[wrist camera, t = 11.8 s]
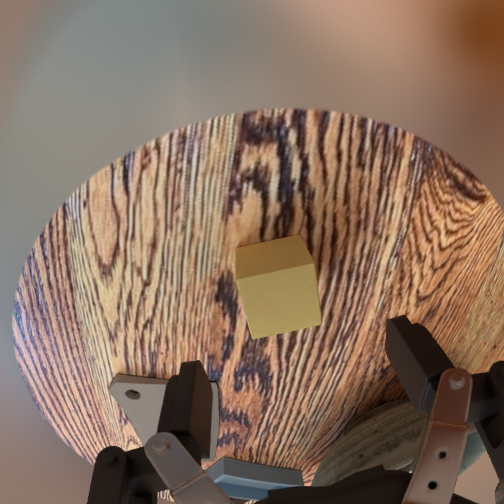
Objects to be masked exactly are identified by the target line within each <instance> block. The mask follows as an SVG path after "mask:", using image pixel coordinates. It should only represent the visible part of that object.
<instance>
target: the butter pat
mask: <svg viewBox="0 0 504 504" xmlns="http://www.w3.org/2000/svg"><path fill="white" fill-rule="evenodd" d="M236 282H237V286H238V290H239V293H240V297H241V301H242V304H243V308H244V311H245V315H246V318H247V322H248V326H249V329H250V333H251V336H252V339H257V338H262V337H267V336H272V335H277V334H281V333H286V332H290V331H295V330H299V329H304V328H308V327H312V326H317V325H321V324H322V319H321V310H320V301H319V293H318V285H317V277H316V269H315V262H314V261H313V259H312V257H311V255H310V253H309V251H308V249H307V247H306V246H305V244H304V242H303V240H302V238H301V236H300V235H299V234H298V235H294V236H289V237H285V238H280V239H275V240H271V241H266V242H261V243H257V244H252V245H248V246H243V247H238V248H236Z"/></svg>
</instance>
